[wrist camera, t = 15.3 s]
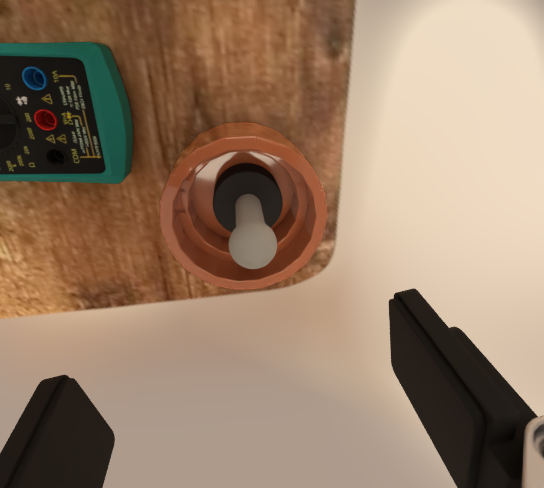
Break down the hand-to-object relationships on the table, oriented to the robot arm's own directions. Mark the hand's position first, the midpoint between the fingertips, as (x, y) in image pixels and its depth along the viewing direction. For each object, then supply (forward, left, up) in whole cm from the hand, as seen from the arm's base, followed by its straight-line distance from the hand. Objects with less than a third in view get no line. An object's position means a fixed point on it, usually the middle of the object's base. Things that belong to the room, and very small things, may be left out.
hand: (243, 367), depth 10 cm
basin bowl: (+1, 0, -16) cm, 16 cm away
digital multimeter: (-14, +3, -16) cm, 21 cm away
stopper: (+1, 0, -15) cm, 15 cm away
